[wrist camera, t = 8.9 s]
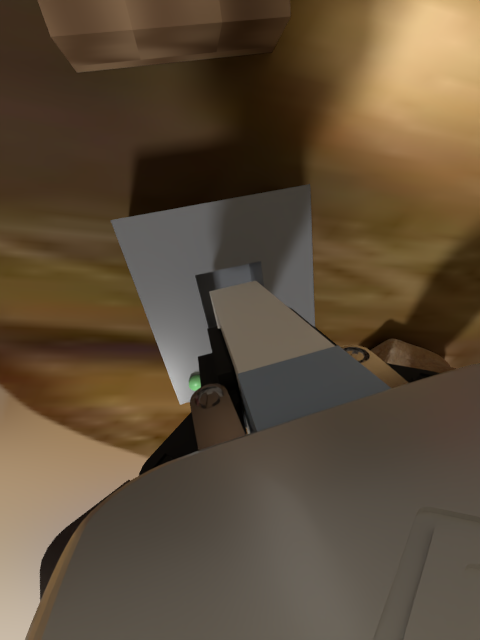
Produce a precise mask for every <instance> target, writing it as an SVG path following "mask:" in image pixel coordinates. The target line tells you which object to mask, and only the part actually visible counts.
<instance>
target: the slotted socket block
mask: <svg viewBox="0 0 480 640" xmlns="http://www.w3.org/2000/svg"><path fill="white" fill-rule="evenodd" d="M38 3H39V6H40V9H41V11H42V14H43V17H44V20H45V22H46V25H47V28H48V31H49V33H50V36H51V38H52V39H53V41H54V42H55V43H56V45H57V46H58V47H59V49H60V50H61V51H62V53H63V54H64V55H65V57H66V58H67V59H68V61H69V62H70V64H71V65H72V66H73V68H74V69H75V70H76V72H77V73H78V72H88V71H97V70H107V69H117V68H126V67H136V66H145V65H155V64H165V63H174V62H184V61H194V60H203V59H213V58H223V57H232V56H242V55H251V54H261V53H271V52H272V51H273V49H274V48H275V46H276V44H277V42H278V40H279V38H280V36H281V34H282V32H283V31H284V29H285V27H286V25H287V23H288V21H289V19H290V17H291V9H290V0H38Z"/></svg>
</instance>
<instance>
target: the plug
mask: <svg viewBox="0 0 480 640" xmlns="http://www.w3.org/2000/svg"><path fill="white" fill-rule="evenodd" d="M209 293H210V297H211V301H212V305H213V310H214V314H215V318H216V322H217V326H218V329H219V328H221V331H222V334H223V337H224V340H225V343H226V346H227V348H228V351H229V354H230V357H231V360H232V363H233V366H234V369H235V373H236V377H237V381H238V386H239V391H240V395H241V400H242V404H243V409H244V413H245V418H246V422H247V427H246V428H247V431H248V434H250V433H253V432H257V431H260V430H263V429H266V428H269V427H272V426H275V425H278V424H281V423H284V422H287V421H290V420H293V419H297V418H300V417H303V416H306V415H309V414H312V413H315V412H318V411H322V410H325V409H328V408H331V407H334V406H337V405H340V404H344V403H347V402H350V401H353V400H356V399H359V398H363V397H366V396H369V395H372V394H375V393H379V392H382V391H385V390H388V389H391V388H390V387H389V386H388V385H387V384H385V383H384V382H383V381H382V380H380V379H379V378H378V377H377V376H375V375H374V374H373V373H372V372H371V371H369V370H368V369H367V368H366V367H364V366H363V365H362V364H361V363H359V362H358V361H357V360H356V359H354V358H353V357H352V356H351V355H349V354H348V353H347V352H346V351H344V350H343V349H342V348H341V347H340V346H334V345H333V344H332V343H331V342H330V341H328V340H327V339H326V338H325V337H324V336H322V335H321V334H320V333H319V332H318V331H316V330H315V329H314V328H313V327H311V326H310V325H309V324H308V323H307V322H305V321H304V320H303V319H302V318H301V317H299V316H298V315H297V314H296V313H295V312H293V311H292V310H291V309H290V308H289V307H287V306H286V305H285V304H284V303H282V302H281V301H280V300H279V299H278V298H276V297H275V296H274V295H273V294H272V293H270V292H269V291H268V290H267V289H266V288H264V287H263V286H262V285H261V284H259V283H258V282H257V281H252V282H248V283H243V284H239V285H235V286H230V287H226V288H222V289H218V290H213V291H209Z"/></svg>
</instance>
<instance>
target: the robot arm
mask: <svg viewBox="0 0 480 640" xmlns="http://www.w3.org/2000/svg"><path fill="white" fill-rule="evenodd" d="M290 309H291V310H292V311H293V312H295V313H296V314H297V315H298V316H299V317H301V318H302V319H303V320H304V321H305V322H307V323H308V324H309V325H310V326H311V327H313V328H314V329H315V330H316V331H318V332H319V333H320V334H321V335H322V336H324V337H325V338H326V339H327V340H328V341H330V342H331V343H332V344H333V345H334V346H337V345H336V344H335V343H334V342H333V341H331V340H330V339H329V338H328V337H326V336H325V335H324V334H323V333H322V332H320V331H319V330H318V329H317V328H316V327H314V326H312V325H311V324H310V323H309V322H308V321H306V320H305V319H304V318H303V317H302V316H300V315H299V314H298V313H297V312H296V311H294V310H293V309H292V308H290ZM207 331H208V335H209V340H210V345H211V349H212V353H210V354H206V355H202V356H198V364H199V373H200V383H201V387H200V388H199V389H198V390H196V391H195V392H194V393H193V395H192V397H191V399H190V406H191V413H190V414H189V415H188V416H187V417H186V419H185V420H184V421H183V422H182V423H181V424H180V425H179V426H178V427H177V428H176V429H175V430H174V432H173V433H172V434H171V435H170V436H169V437H168V438H167V439H166V440H165V441H164V442H163V443H162V445H161V446H160V447H159V448H158V449H157V450H156V451H155V452H154V453H153V454H152V455H151V456H150V458H149V459H148V460H147V461H146V462H145V464H144V465H143V467H142V469H141V471H140V473H139V476H138V477H136V478H135V479H133V480H131V481H130V480H128V481H126V482H125V483H124V484H123V485H121V486H120V487H119V488H117V489H116V490H115V491H113V492H112V493H111V494H109V495H108V496H107V497H105V498H104V499H103V500H101V501H100V502H99V503H98V504H96V505H95V506H94V507H92V508H91V509H90V510H88V511H87V512H86V513H84V514H83V515H82V516H81V517H79V518H78V519H77V520H75V521H74V522H73V523H71V524H70V525H69V526H67V527H66V528H65V529H64V530H63V531H62V532H61V533H59V534H58V536H56V538H55V539H54V540H53V541H52V543H51V544H50V546H49V547H48V548H47V550H46V552H45V554H44V557H43V559H42V562H41V567H40V604H39V606H38V608H37V611H36V613H35V616H34V618H33V621H32V623H31V625H30V628H29V631H28V633H27V636H26V639H25V640H480V363H478V364H473V365H469V366H465V367H461V368H458V369H454V370H450V371H447V372H443V373H437V372H434V371H429V370H423V369H418V368H412V367H406V366H400V365H395V364H389V363H385V362H384V361H382V360H381V359H380V358H379V357H378V356H376V355H375V354H374V353H373V352H372V351H370V350H369V349H367V348H365V347H362V346H358V345H345V346H342V347H341V348H342V349H343V350H344V351H346V352H347V353H348V354H349V355H351V356H352V357H353V358H354V359H356V360H357V361H358V362H359V363H361V364H362V365H363V366H364V367H366V368H367V369H368V370H369V371H371V372H372V373H373V374H374V375H375V376H377V377H378V378H379V379H380V380H382V381H383V382H384V383H385V384H387V385H388V386H389V387H390V388H391V389H388V390H385V391H382V392H379V393H375V394H372V395H369V396H366V397H363V398H359V399H356V400H353V401H350V402H347V403H344V404H340V405H337V406H334V407H331V408H328V409H325V410H322V411H318V412H315V413H312V414H309V415H306V416H303V417H300V418H297V419H293V420H290V421H287V422H284V423H281V424H278V425H275V426H272V427H269V428H266V429H263V430H260V431H257V432H253V433H250V434H247V433H246V428H245V427H247V422H246V418H245V413H244V409H243V404H242V400H241V395H240V391H239V386H238V381H237V377H236V373H235V369H234V366H233V363H232V360H231V357H230V354H229V351H228V348H227V346H226V343H225V340H224V337H223V334H222V331H221V328H219V329H218V327H217V326H216V327H212V328H208V329H207ZM246 434H247V435H246Z"/></svg>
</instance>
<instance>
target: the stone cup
mask: <svg viewBox="0 0 480 640" xmlns="http://www.w3.org/2000/svg"><path fill="white" fill-rule="evenodd" d="M370 351H372V352H373V353H374V354H375V355H376V356H378V357H379V358H380V359H381V360H382V361H384V362H385V363H389V364H395V365H400V366H406V367H412V368H418V369H423V370H429V371H434V372H437V373H443V372H447V371H450V370H454V369H456V368H452V367H450V365H449V364H448V363H447V362H446V361H445V360H444V359H443V358H442V357H441V356H439V355H438V354H436V353H433V352H431V351H429V350H426V349H423V348H421V347H418V346H415V345H412V344H409V343H406V342H403V341H401V340H398V339H388V340H386V341H384V342H383V343H381V344H380V345H378V346H376V347H374V348H373V349H371V350H370Z"/></svg>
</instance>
